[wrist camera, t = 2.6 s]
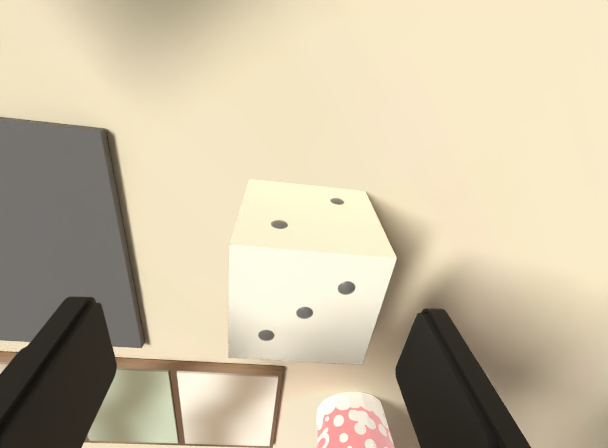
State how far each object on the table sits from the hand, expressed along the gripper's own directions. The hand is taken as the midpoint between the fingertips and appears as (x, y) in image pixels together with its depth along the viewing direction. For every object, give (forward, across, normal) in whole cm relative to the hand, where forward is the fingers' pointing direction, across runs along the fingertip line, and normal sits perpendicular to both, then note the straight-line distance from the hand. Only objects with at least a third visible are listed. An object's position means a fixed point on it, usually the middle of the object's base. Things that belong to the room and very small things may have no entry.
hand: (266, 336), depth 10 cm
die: (+6, -2, 0) cm, 6 cm away
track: (+7, +11, +14) cm, 19 cm away
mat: (+6, +12, +2) cm, 14 cm away
